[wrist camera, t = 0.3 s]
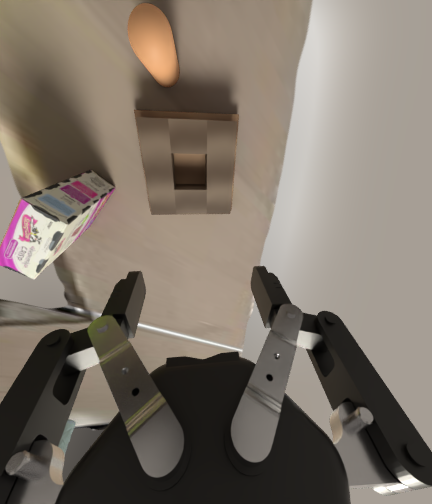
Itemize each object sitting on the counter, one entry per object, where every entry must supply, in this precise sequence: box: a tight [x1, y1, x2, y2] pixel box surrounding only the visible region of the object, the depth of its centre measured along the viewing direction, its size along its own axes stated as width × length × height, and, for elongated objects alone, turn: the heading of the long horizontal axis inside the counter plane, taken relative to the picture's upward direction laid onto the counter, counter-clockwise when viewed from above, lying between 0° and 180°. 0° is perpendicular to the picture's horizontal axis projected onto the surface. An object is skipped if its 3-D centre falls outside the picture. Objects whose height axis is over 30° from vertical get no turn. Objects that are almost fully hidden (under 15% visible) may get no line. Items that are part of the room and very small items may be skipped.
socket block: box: [134, 110, 239, 215], centre depth 33 cm, size 16×16×6 cm
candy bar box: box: [0, 170, 115, 279], centre depth 30 cm, size 11×5×16 cm, turn 137°
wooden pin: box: [128, 3, 180, 87], centre depth 23 cm, size 4×4×12 cm
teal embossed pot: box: [58, 420, 75, 455], centre depth 84 cm, size 10×10×12 cm
